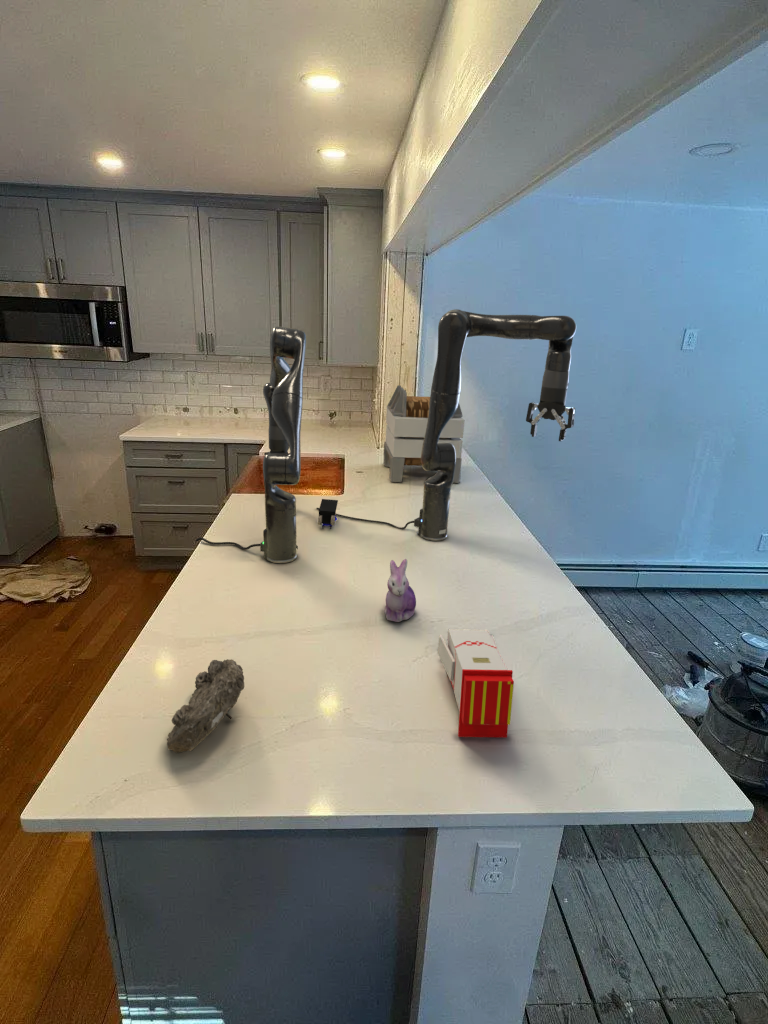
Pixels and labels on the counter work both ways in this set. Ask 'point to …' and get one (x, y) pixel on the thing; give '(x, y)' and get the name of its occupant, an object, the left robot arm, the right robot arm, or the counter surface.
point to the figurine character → (327, 513)
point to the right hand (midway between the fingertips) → (547, 438)
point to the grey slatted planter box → (415, 433)
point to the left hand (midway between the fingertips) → (279, 480)
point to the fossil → (206, 705)
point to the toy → (478, 682)
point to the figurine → (399, 594)
